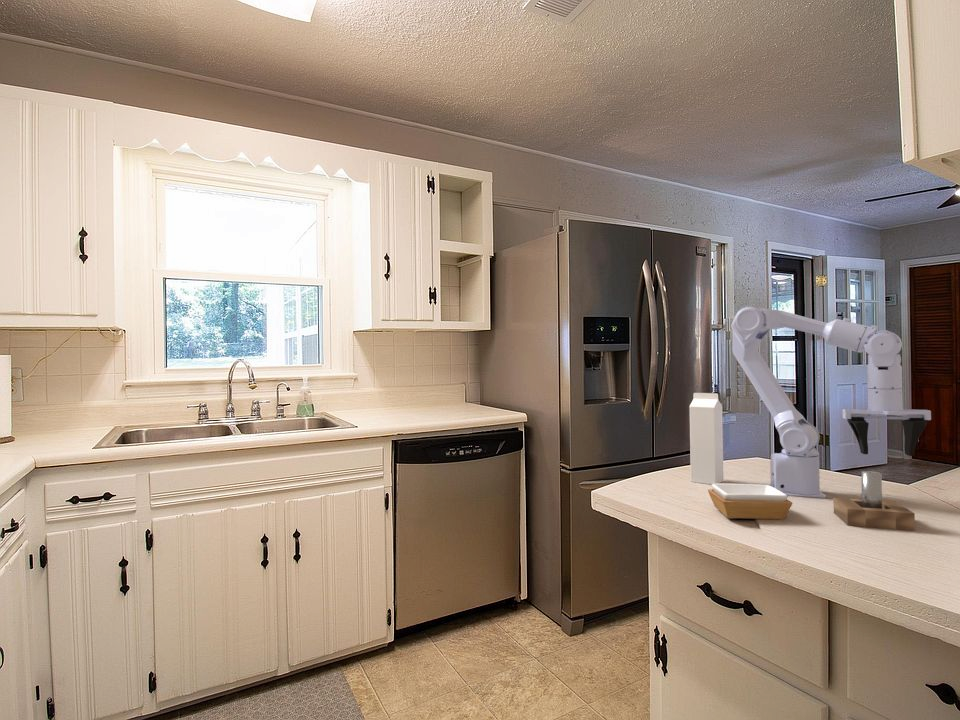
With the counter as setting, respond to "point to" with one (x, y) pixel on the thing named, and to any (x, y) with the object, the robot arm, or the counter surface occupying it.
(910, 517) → the block
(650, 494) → the counter surface
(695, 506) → the counter surface
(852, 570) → the counter surface
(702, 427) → the milk
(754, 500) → the soap dish
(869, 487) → the peg
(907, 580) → the counter surface
